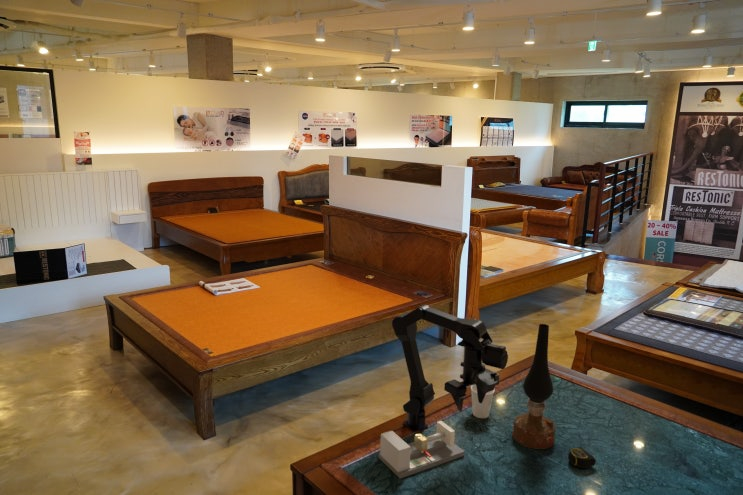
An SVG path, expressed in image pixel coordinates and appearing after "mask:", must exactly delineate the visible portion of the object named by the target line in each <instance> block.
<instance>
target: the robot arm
mask: <svg viewBox="0 0 743 495" xmlns="http://www.w3.org/2000/svg"><path fill="white" fill-rule="evenodd" d="M420 320H422V321H426V322H428V323H430V324H433V325H436V326H437V327H441V328H443V329H446V330H449V331H451V332H453V333H454V334H456V335H457V336H458V337H459V338H461V340H460V341H459V342H458V343H457V346H459V347H462V348H464V349H463V361H461V362H460V365H459V366H461V367H462V374H459V379H462V381H459V380H458V379H455V378H454V379H452V380H449V381H446V382H445V383H444V385H443V386H444V389H443V390H444V391H445V392H447V393H449V394H450V395H451V397H452V399H453V401H454V403H455V406H456V408H457V410H458V412H460V413H461V412H462V411H463V406H464V405H463V404H464V398H465V397H466V396H467V394H466V393H467V389H468V388H469V387H471V386H472V385H475V384H476V386H477V395H478V401H479V403H482V402H483V400H484V397H485V395H486V393H487V392H489V391H493V390H494V389H496V388H495V387H496V386H498V385H499V384H500V374H499V372H497V371H492V370H490V369H488V368H486V366H488V367H491V368H497V369H500V370H504V369H506V367H507V363H508V359H509V355H508V351H507V346H504V345H497V344H494V342H493V339H492V337H491V335H490V334H489V332H488V330H487V327H486V325H485V322H483V321H482V320H479V319H474V318H461V317H458V316H455V315H453V314H449V313H447V312H444V311H442V310H439V309H436V308H434V307H431V306H429V305H428V304H422V305H420V306H418V307H416V308H415V309H414V310H412V311H411V312H409V311H405V312H403V313H401V314H399V315H397V316H395V317H394V318H393V320H392V321H391V326H392V329H393V332H394V334H395V336H396V337H397V339H398V340H399V341H400V342H401V346H402V350H403V356H404V359H405V364H406V368H407V372H408V376H409V381H410V386H409V391H408V393H409V394H408V396H409V400H408V401H407V402H405V403H404V404H403V405H402V408H403V411H404V412H405V413H406V420H404V421H402V424H403V423H404V424H403V425H404V426H406V427H407V429H409V430H411V431H412V432H417V431H420V430H423V429H425V428H429V424H427V423H426V410H425V408H427V407H428V406H429V405H430V404H431V403H433V401H434V398H435V396H434V395H436V393H435V391H434V387H433V386H434V385H433V382H428V381H427V380H426V378H425V373H424V369H423V364H422V361H421V358H420V357H421V356H420V352H419V349H418V344H417V339H416V338H417V332H418V325H417V322H419V321H420ZM481 339H482V341H480V340H481Z"/></svg>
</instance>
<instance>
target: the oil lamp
mask: <svg viewBox="0 0 743 495" xmlns="http://www.w3.org/2000/svg"><path fill="white" fill-rule="evenodd" d="M549 330H550V325H549V324H545V323H540V324H538V332H537V336H536V337H537V338H536V346H535V351H534V356H533V361H532V364H531V366H530V369H529V370H528V372H527V375H526V376H525V378H524V381H523V384H522V389H523V392H524V393H525V395H526V396H527V398H529V399H528V400H527V401H526V405H527V407H528V412H527V413H522V414H519V415H517V416H516V417H515V418H514V419H513V420H514V421H513V429H512V433H511V435H512V439H513V440H515V442H517V443H518V444H519V445H522V446H523V447H527V448H529V449H535V450H546V449H549V448H551V447H553V446H554V445H555V443H556V442H555V441H556V439H555V435H556V434H555V433H556V426H555V424H554V420H552V419H550V418H548V417H545V416H544V415H543V412H544V410H545V409H546V408H547V404H546V402H545V401H546V400H548V399H550V398H551V396H552V395H553V393H554V384H553V380H552V377H551V374H550V369H549V365H548V364H549V363H548V362H549V358H548V356H549V355H548V354H549V351H548V350H549V336H550V335H549V334H550V333H549Z"/></svg>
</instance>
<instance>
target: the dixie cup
mask: <svg viewBox="0 0 743 495" xmlns="http://www.w3.org/2000/svg"><path fill="white" fill-rule="evenodd" d="M495 389H496V388H494V390H493V391H489V392H487V393H486V395H485V397H484V400H483V402H482V403H479V401H478V395H477V386H476V384H475V385H472V386H470V390H471V406H472V415H473V416H474V417H475V418H478V419H487V418H488V417H490V411H491V407H492V402H493V397H494V393H495V391H496V390H495Z"/></svg>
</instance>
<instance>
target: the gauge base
mask: <svg viewBox="0 0 743 495" xmlns="http://www.w3.org/2000/svg"><path fill="white" fill-rule="evenodd" d="M379 448H380V449H379V450H380V452H378V456H377V457H378V459H379V460H380V461H381V462H382V463H384V465H385V466H386V467H387V468H389V470H390V471H392V473H394V475H396V476H397V478H399V479H404V478H406V477H409V476H411V475H414V474H417V473H420V472H423V471H425V470H429V469H431V468H435V467H436V466H440V465H442V464H444V463H448V462H450V461H453V460H456V459H458V458H462V457H464V456H465V450H464V449H462V448H461V447H459V445H457V444H456V443H454V446H451V447H450V446H448V445H447V444H446V443H445V442H443V441H442V440H441V439H436V440H433V441H430V442H428V444H427V451H426V452H427V453H429V454H430V455H431V457H428V456H427V455H426V454H425V453H424V452H423V453H421V452H420V451H419V450H418V449H417V448H415V447H414V441H411V442H408V443H407V442H406V441H404V439H402V438H401V437H400V436H399V435H398V434H396V433H395V432H394V431H393V430H389V431H385V432H383V433H381V434H380V446H379Z"/></svg>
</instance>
